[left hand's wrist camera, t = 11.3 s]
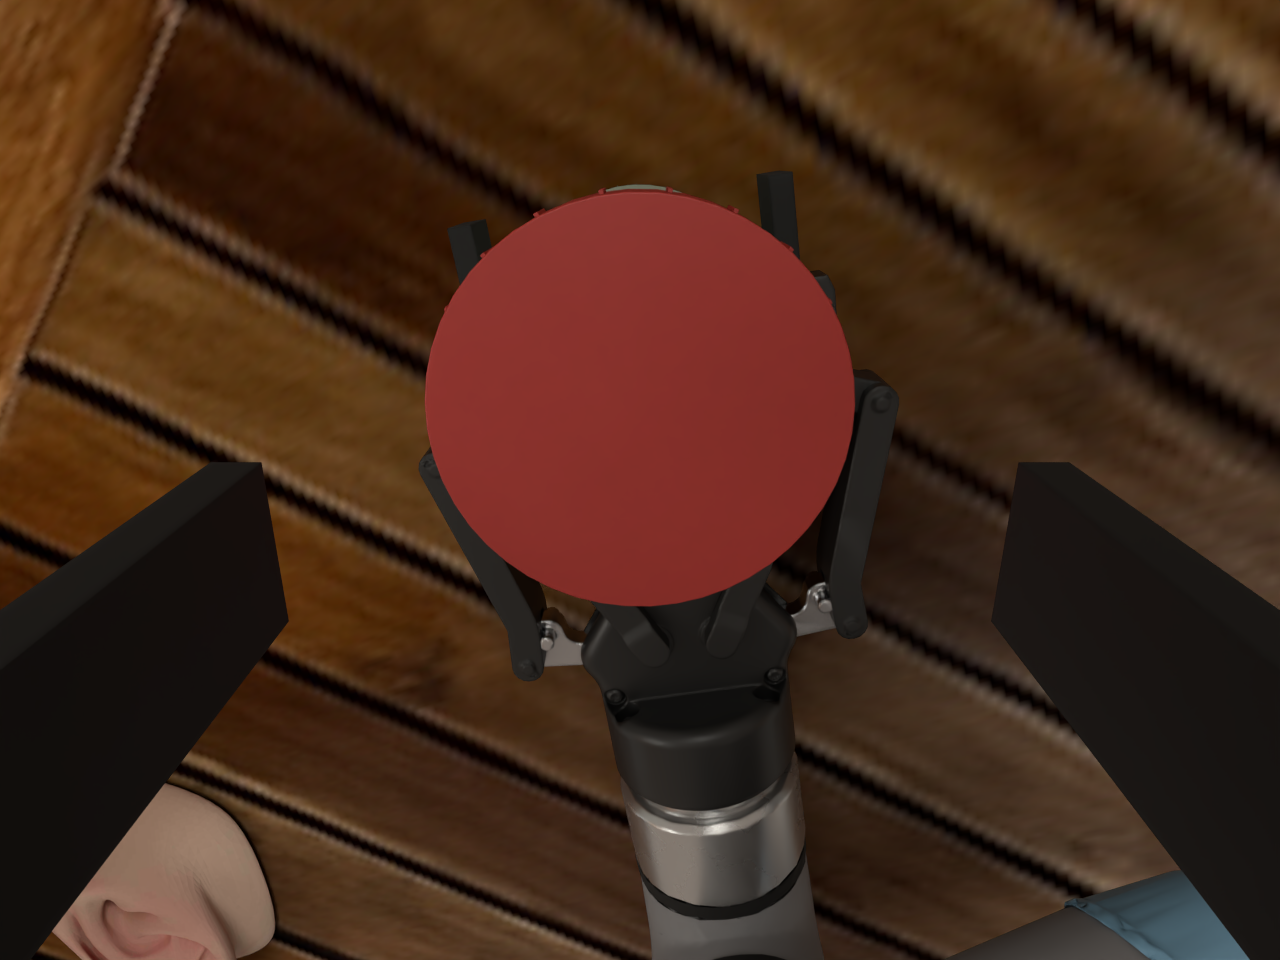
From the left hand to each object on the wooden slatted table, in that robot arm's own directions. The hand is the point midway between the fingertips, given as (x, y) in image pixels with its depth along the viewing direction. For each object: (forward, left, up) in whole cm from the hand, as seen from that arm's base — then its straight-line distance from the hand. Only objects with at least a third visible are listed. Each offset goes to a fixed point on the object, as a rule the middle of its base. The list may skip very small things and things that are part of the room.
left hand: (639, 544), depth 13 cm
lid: (0, 0, -7) cm, 7 cm away
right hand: (+3, -4, -17) cm, 17 cm away
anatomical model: (+8, +39, -23) cm, 46 cm away
